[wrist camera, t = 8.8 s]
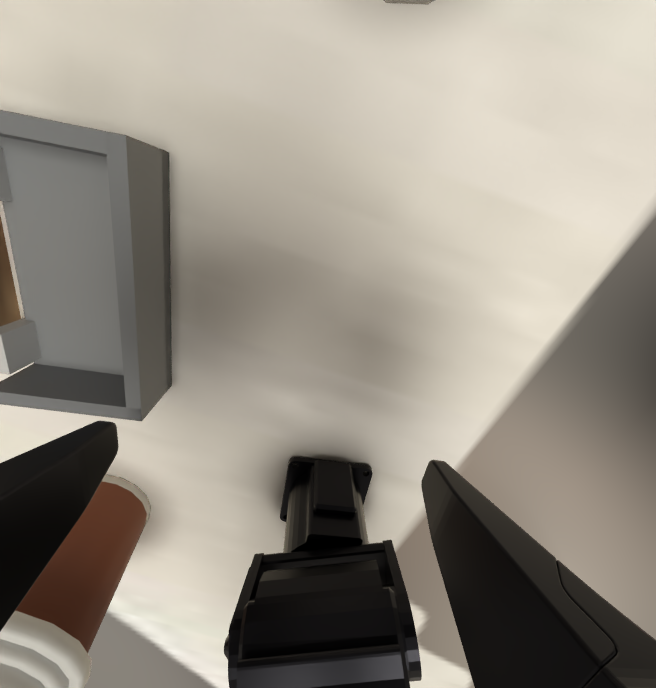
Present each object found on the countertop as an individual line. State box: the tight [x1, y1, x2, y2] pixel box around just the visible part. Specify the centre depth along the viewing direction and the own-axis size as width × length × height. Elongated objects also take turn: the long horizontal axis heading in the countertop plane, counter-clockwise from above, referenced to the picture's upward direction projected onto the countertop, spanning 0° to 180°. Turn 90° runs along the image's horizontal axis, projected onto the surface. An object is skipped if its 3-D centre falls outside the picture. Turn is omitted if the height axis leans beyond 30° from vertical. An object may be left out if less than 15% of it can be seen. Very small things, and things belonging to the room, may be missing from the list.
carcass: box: [0, 110, 172, 421], centre depth 17 cm, size 14×12×4 cm
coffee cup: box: [0, 475, 151, 688], centre depth 20 cm, size 9×9×12 cm
